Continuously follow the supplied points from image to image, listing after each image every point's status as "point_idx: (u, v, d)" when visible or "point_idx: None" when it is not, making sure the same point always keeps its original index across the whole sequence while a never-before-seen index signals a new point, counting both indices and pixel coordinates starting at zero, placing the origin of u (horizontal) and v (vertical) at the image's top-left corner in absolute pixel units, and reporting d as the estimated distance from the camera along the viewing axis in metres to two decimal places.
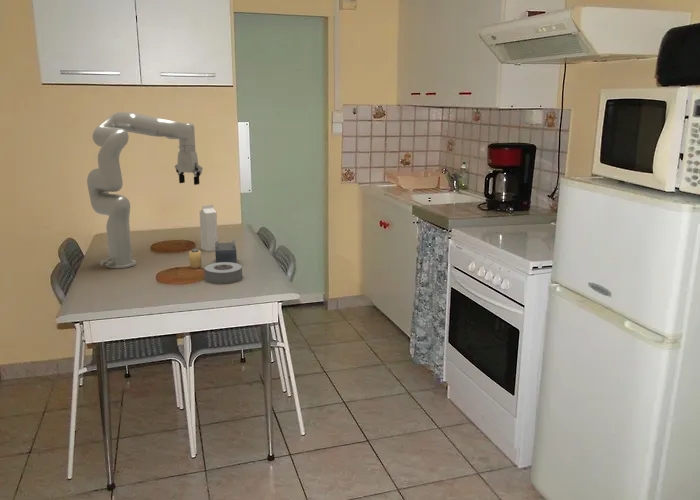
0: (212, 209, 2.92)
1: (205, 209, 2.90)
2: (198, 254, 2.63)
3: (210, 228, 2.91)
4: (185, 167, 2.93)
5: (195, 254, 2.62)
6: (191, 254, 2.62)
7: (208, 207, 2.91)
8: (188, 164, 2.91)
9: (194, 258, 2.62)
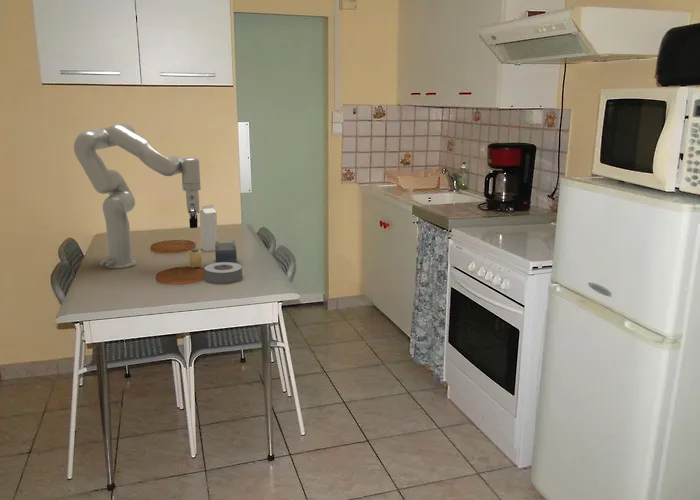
0: (212, 209, 2.92)
1: (205, 209, 2.90)
2: (198, 254, 2.63)
3: (210, 228, 2.91)
4: None
5: (195, 254, 2.62)
6: (191, 254, 2.62)
7: (208, 207, 2.91)
8: None
9: (194, 258, 2.62)
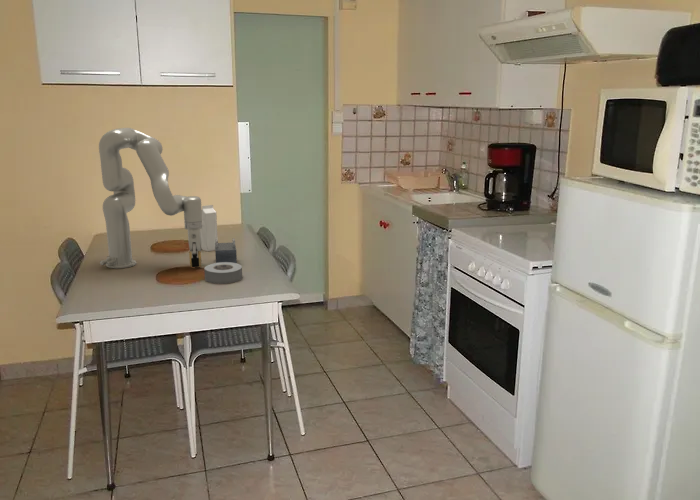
0: (212, 209, 2.92)
1: (205, 209, 2.90)
2: (198, 254, 2.63)
3: (210, 228, 2.91)
4: None
5: None
6: (191, 254, 2.62)
7: (208, 207, 2.91)
8: None
9: None
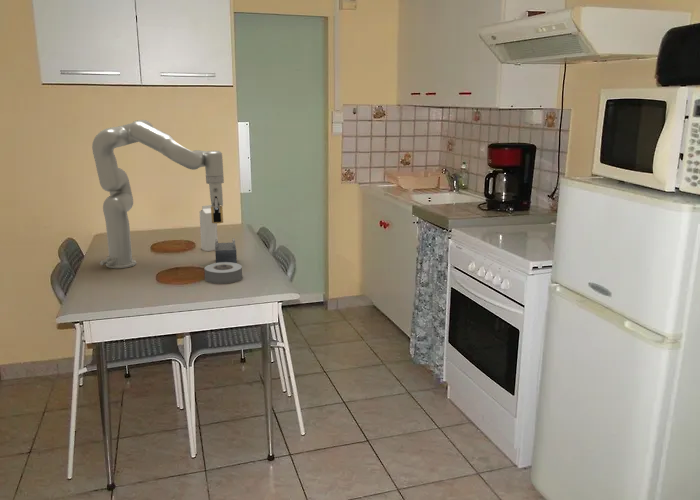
0: None
1: (205, 209, 2.90)
2: (220, 209, 2.62)
3: (210, 228, 2.91)
4: None
5: None
6: None
7: (208, 207, 2.91)
8: None
9: None
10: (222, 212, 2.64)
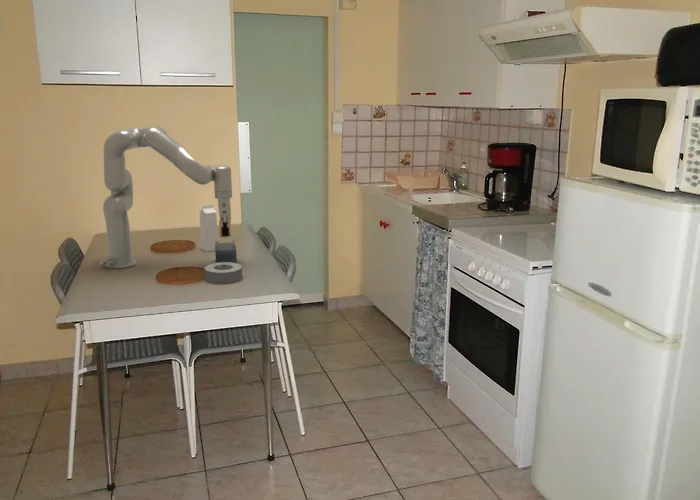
0: (212, 209, 2.92)
1: (205, 209, 2.90)
2: (228, 223, 2.65)
3: (210, 228, 2.91)
4: None
5: None
6: (221, 223, 2.64)
7: (208, 207, 2.91)
8: None
9: None
10: (230, 226, 2.67)
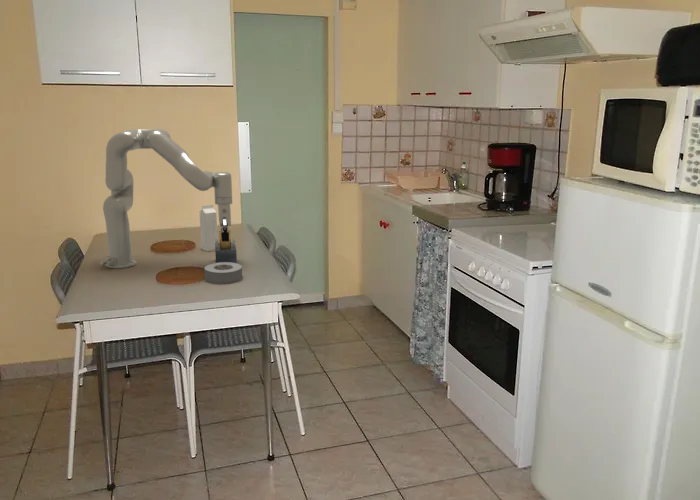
0: (212, 209, 2.92)
1: (205, 209, 2.90)
2: None
3: (210, 228, 2.91)
4: None
5: None
6: None
7: (208, 207, 2.91)
8: None
9: None
10: (230, 236, 2.68)
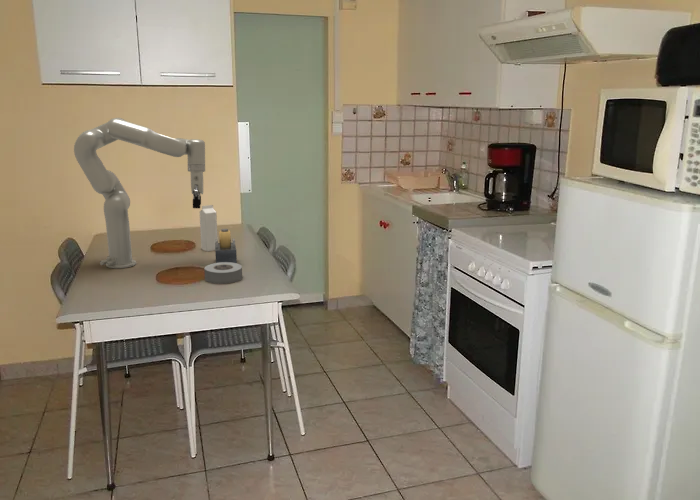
0: (212, 209, 2.92)
1: (205, 209, 2.90)
2: (228, 234, 2.66)
3: (210, 228, 2.91)
4: None
5: (225, 234, 2.65)
6: (221, 234, 2.66)
7: (208, 207, 2.91)
8: None
9: (224, 237, 2.66)
10: (230, 236, 2.68)
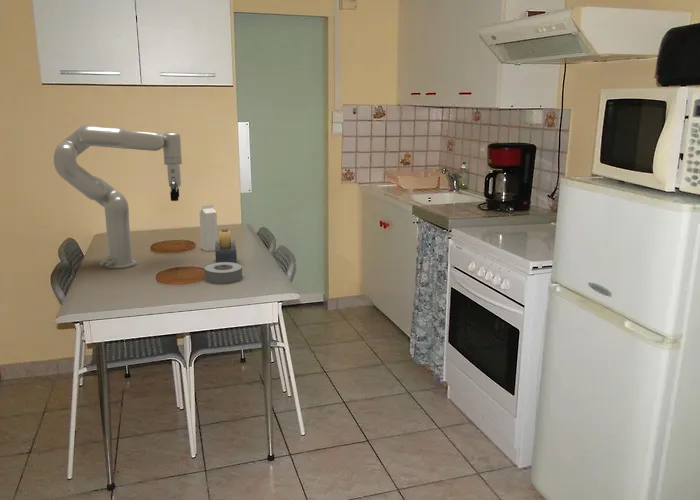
0: (212, 209, 2.92)
1: (205, 209, 2.90)
2: (228, 234, 2.66)
3: (210, 228, 2.91)
4: (180, 180, 2.69)
5: (225, 234, 2.65)
6: (221, 234, 2.66)
7: (208, 207, 2.91)
8: (180, 176, 2.71)
9: (224, 237, 2.66)
10: (230, 236, 2.68)
